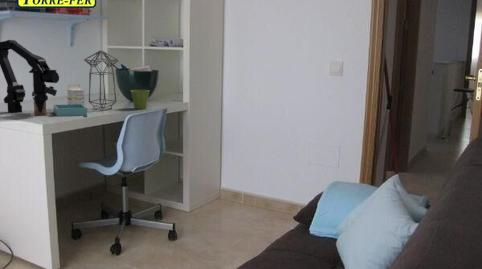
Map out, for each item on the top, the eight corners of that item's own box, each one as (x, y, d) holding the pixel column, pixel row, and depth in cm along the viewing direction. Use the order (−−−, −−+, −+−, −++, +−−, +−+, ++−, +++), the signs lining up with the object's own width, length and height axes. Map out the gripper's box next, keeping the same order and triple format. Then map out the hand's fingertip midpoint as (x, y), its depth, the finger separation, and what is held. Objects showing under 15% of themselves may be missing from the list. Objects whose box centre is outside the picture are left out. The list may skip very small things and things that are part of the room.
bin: (57, 118, 250) (56, 108, 249) (53, 113, 263) (53, 104, 262) (86, 117, 257) (86, 107, 256) (82, 113, 270) (82, 104, 269)
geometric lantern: (121, 109, 291) (120, 51, 284) (103, 112, 278) (102, 51, 270) (101, 106, 298) (100, 49, 291) (82, 109, 284) (81, 50, 277)
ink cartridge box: (72, 110, 280) (71, 84, 277) (67, 109, 283) (66, 84, 280) (85, 108, 287) (84, 84, 284) (80, 107, 290) (79, 83, 287)
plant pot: (143, 106, 305) (143, 89, 303) (153, 109, 296) (153, 91, 294) (126, 108, 297) (126, 89, 295) (136, 110, 288) (136, 91, 286)
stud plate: (30, 118, 246) (30, 107, 246) (29, 115, 255) (29, 105, 254) (51, 117, 251) (51, 107, 250) (49, 114, 260) (49, 104, 259)
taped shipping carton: (35, 115, 249) (34, 102, 248) (34, 113, 254) (33, 100, 253) (46, 114, 252) (45, 101, 251) (45, 113, 257) (44, 100, 255)
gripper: (57, 83, 245) (58, 113, 248) (53, 80, 262) (54, 108, 264) (34, 83, 240) (35, 114, 243) (31, 80, 256) (32, 109, 259)
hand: (40, 111), depth 253 cm, fingers closed on taped shipping carton, 5 cm apart
